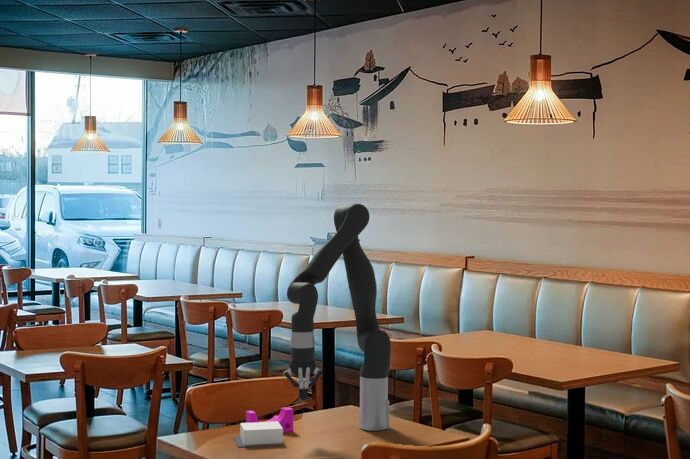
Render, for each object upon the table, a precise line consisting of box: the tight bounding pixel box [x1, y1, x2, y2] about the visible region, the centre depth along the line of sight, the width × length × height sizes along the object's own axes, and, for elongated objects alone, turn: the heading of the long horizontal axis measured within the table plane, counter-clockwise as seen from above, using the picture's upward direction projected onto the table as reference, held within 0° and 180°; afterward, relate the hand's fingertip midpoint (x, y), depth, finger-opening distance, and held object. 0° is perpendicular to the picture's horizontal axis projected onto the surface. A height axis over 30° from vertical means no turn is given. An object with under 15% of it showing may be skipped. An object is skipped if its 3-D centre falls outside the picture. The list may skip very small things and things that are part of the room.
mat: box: [232, 435, 283, 448], centre depth 282 cm, size 13×13×1 cm
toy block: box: [245, 406, 294, 433], centre depth 295 cm, size 15×6×8 cm, turn 117°
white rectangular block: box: [239, 421, 284, 445], centre depth 283 cm, size 4×10×12 cm
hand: (303, 400), depth 286 cm, fingers closed
